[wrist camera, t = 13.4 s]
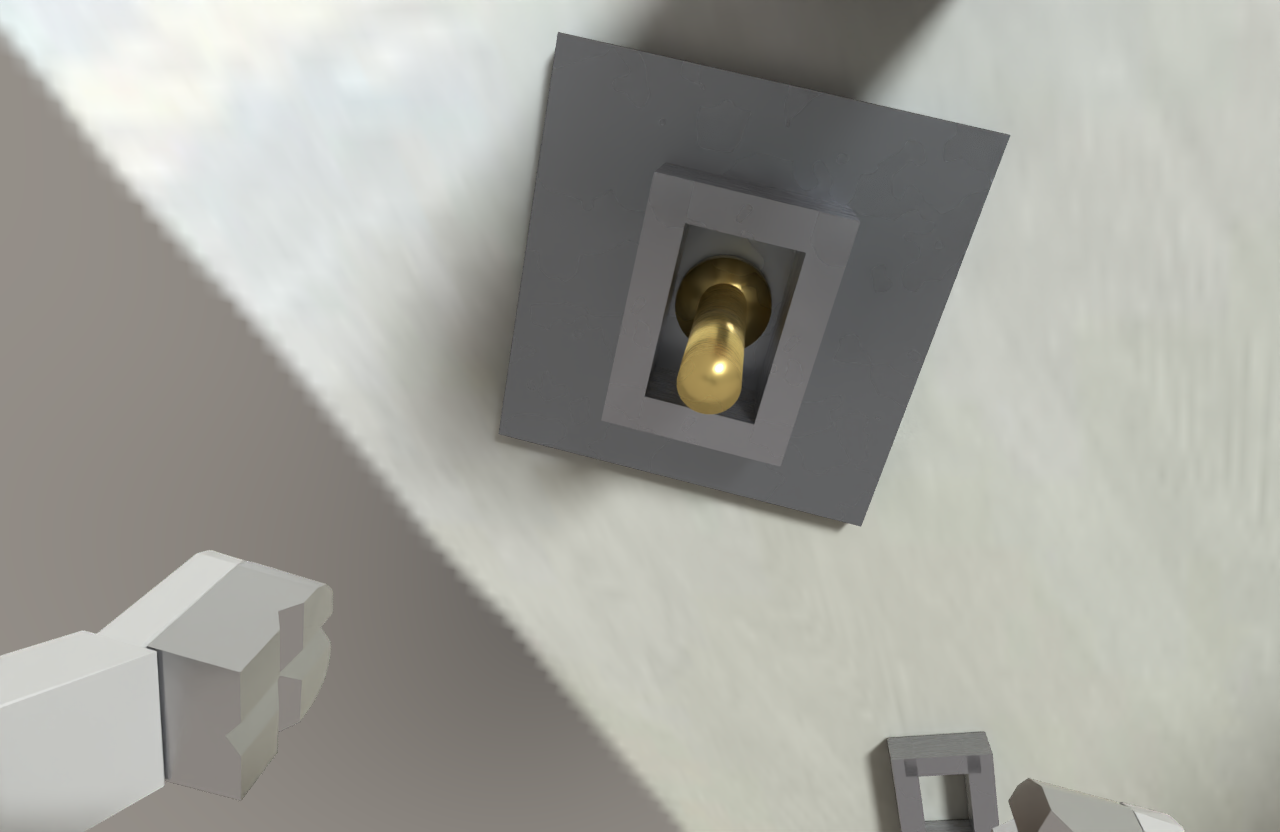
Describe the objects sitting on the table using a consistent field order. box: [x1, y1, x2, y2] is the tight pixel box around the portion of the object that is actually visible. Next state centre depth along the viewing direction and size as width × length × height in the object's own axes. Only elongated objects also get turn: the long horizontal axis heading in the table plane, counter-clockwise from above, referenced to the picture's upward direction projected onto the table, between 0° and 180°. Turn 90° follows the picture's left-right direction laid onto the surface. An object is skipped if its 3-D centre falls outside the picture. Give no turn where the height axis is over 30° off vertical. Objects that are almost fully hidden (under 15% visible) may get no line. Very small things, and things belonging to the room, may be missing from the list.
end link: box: [601, 162, 860, 467], centre depth 25 cm, size 6×8×3 cm
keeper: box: [499, 32, 1010, 526], centre depth 23 cm, size 14×14×9 cm
